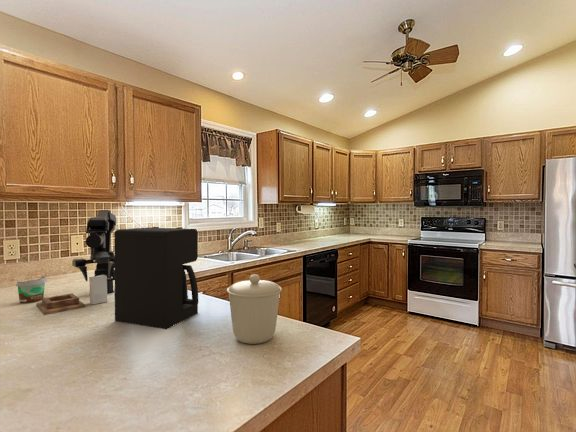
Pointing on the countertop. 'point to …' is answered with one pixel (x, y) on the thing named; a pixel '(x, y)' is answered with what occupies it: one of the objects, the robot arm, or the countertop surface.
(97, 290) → the skincare box
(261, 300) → the canister
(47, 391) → the countertop surface
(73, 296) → the frame
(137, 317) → the coffee maker
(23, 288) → the food container
